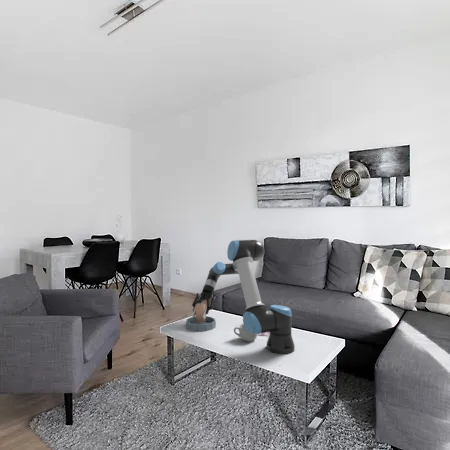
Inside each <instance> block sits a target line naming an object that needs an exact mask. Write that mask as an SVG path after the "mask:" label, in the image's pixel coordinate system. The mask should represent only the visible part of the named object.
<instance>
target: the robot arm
mask: <svg viewBox="0 0 450 450" xmlns="http://www.w3.org/2000/svg"><path fill="white" fill-rule="evenodd" d="M226 254H227V259H228V260H229V261H231V262H232V263H231V262H230V263H224V262H222V261H217V262H216V263H215V264H214V265H213V266H212V267H211V268H210V269H209V271H208V274H207V277H206V280H205V283H204V284H203V287H202V291H201V293H199V292H196V296H195V298H194V300H193V302H192V304H191V306H192V307H193V309H192V315H191V317H193V318H194V317H195V316H196V315H195V304H197V303H203V302H204V300H206V309H205V311H204V314H203V319H205V317H206V316H207V315H208V314H209V312H210V311H211V310H213V309H214V304H215V300H216V298H217V296H216V294H214V291H215V289H216V286H217V283H218V280H219V279H220V277H221V276H224V275H225V276H226V275H238V276H239V281H240V284H241V285H240V286H241V289H242V292H243V296H244V301H245V305H246V307H245V309H244V312H243V314H242V324H244V326H245V328H246V330H247V331H248V332H249V333H250V334H257V335H259V334H260V335H261V333H265V332H270V335H269V334H268V335H269V336H268V338H267V340H266V341H267V342H266V350H267V351H269V352H271V353H274V354H282V355H284V354H285V355H286V354H291V353H293V352H294V351H295V350H296V349H295V347H296V346H295V342H294V339H293V336H292V320H293V319H292V317H293V314H292V309H291V308H290V307H288V306H286V305H285V306H284V305H279V304H271V305H270V306H269V309H267V305H266V304H265V303H263V302H262V298H261V294H260V291H259V287H258V284H257V280H256V276H255V272H254V268H253V265H252V264H253V263H254V262H257V261H259V260H260V259H262V258H263V256H264V255H265V247H264V244H263V243H262V242H261V241H259V240H256V239H236V240H231V241H230V242H229V244H228V246H227V252H226ZM265 334H266V333H265Z"/></svg>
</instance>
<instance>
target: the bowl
mask: <svg viewBox="0 0 450 450" xmlns="http://www.w3.org/2000/svg"><path fill="white" fill-rule="evenodd" d="M185 321H186V322H185V324H186V326H185V327H186V329H188V330H189V331H193V332H207V331H212V330H214V329H215V328H216V325H217V321H216V318H214V317H212V316H209V315H208V316H207V315H206V322H204V323H198V322H196V315H195V317H194V318H193V316H190V317H188V318H187V319H185Z"/></svg>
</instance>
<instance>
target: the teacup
mask: <svg viewBox="0 0 450 450" xmlns="http://www.w3.org/2000/svg"><path fill="white" fill-rule="evenodd" d="M237 330H238V332H239V333H238V332H236V331H237ZM233 334H235V335H236V336H238V337H239V338H240V339H241V340H242V341H244V342H253V341H255V340H256V339H257V336H258V334H250V333H249V332H248V331H247V330H246V328H245V326H244V324H243V323H242V324H241V323H240V325H239V326H235V327H234V328H233Z"/></svg>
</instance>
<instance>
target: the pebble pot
mask: <svg viewBox="0 0 450 450" xmlns="http://www.w3.org/2000/svg"><path fill="white" fill-rule="evenodd" d="M206 308H207V303H204V302H201V303H197V304H195V316H196V322H198V323H204V322H206V317H205V319H203V314H204V311H205V309H206Z"/></svg>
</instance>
